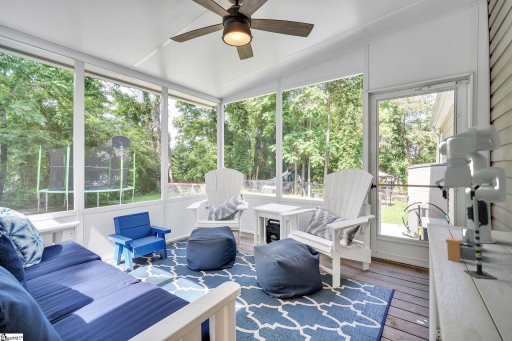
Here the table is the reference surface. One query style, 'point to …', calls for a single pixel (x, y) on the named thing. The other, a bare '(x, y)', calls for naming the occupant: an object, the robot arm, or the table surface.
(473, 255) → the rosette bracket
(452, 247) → the tan flared block
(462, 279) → the table surface
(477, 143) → the robot arm
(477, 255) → the miniature traffic light
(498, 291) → the table surface
